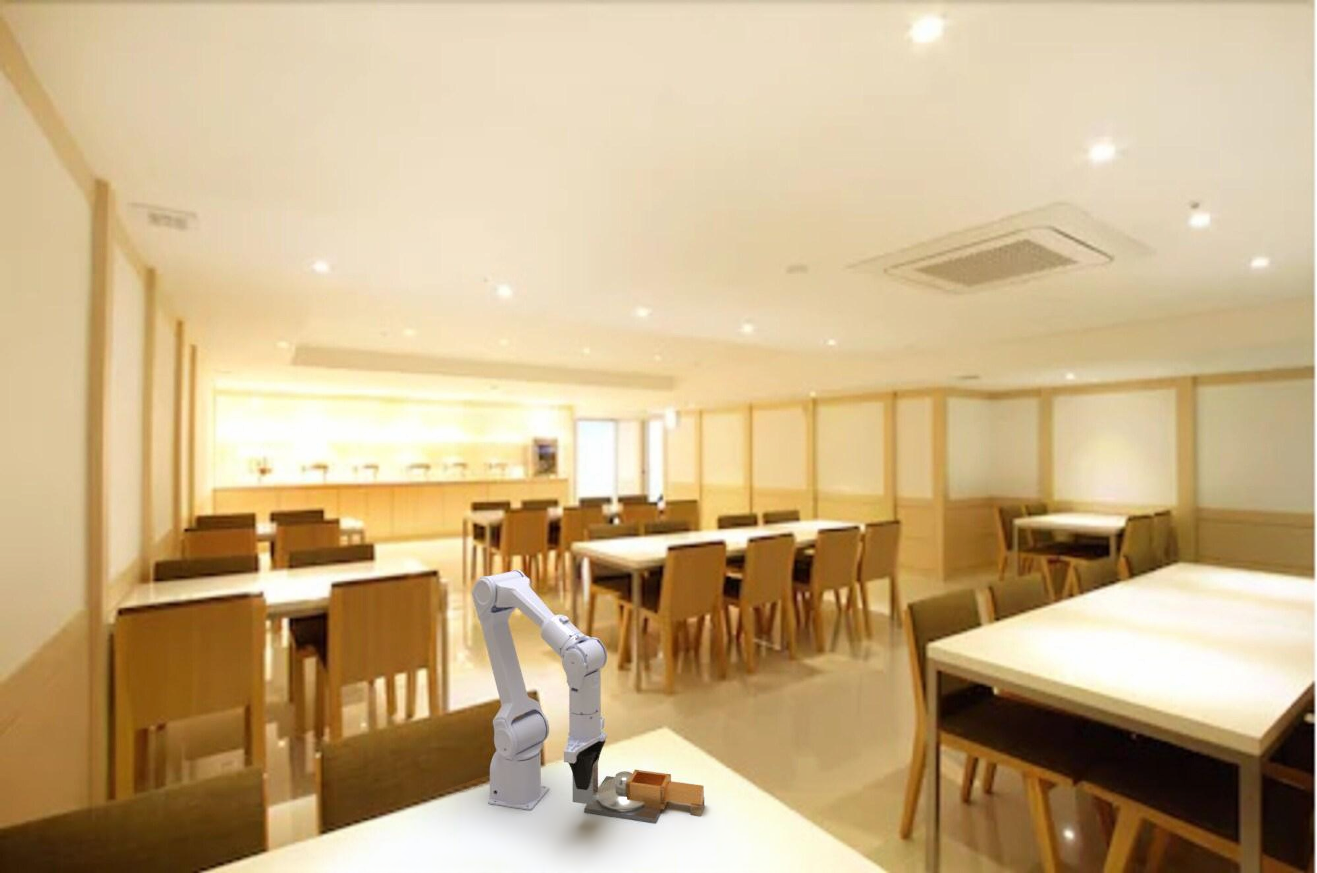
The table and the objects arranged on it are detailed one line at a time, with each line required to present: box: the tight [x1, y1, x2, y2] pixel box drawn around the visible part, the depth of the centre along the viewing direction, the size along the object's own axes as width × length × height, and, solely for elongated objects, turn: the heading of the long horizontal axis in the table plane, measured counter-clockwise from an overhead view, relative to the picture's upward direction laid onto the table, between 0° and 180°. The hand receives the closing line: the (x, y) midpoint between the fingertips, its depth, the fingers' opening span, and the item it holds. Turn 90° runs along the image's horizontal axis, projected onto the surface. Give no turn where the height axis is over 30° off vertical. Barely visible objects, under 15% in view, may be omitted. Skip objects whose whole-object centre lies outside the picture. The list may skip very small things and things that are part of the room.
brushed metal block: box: [571, 759, 599, 805], centre depth 112 cm, size 4×2×7 cm, turn 74°
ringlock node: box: [583, 769, 705, 824], centre depth 119 cm, size 22×12×5 cm, turn 74°
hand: (585, 784), depth 112 cm, fingers closed on brushed metal block, 2 cm apart
